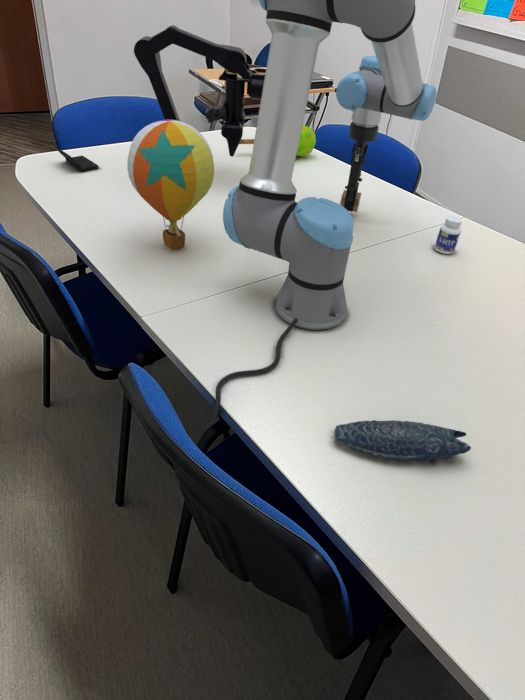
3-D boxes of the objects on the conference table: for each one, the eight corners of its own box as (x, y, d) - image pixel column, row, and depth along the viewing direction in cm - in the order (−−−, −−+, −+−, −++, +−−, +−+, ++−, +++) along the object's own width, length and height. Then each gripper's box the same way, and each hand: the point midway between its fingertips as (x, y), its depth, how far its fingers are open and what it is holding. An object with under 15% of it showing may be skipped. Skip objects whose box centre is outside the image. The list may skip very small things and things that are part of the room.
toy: (119, 241, 130) (106, 114, 112) (184, 223, 141) (182, 104, 122) (161, 274, 119) (154, 140, 101) (229, 252, 130) (233, 127, 111)
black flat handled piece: (103, 161, 168) (81, 139, 159) (91, 179, 166) (69, 158, 158) (82, 157, 174) (60, 135, 166) (70, 174, 173) (48, 153, 164)
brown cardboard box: (341, 203, 154) (344, 189, 152) (358, 206, 153) (361, 192, 151) (339, 209, 151) (341, 195, 148) (356, 212, 150) (359, 198, 147)
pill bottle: (433, 251, 139) (442, 220, 133) (435, 243, 143) (444, 213, 137) (453, 256, 138) (464, 225, 132) (454, 247, 142) (465, 217, 136)
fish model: (468, 474, 80) (479, 453, 77) (333, 457, 81) (338, 435, 78) (460, 442, 85) (469, 421, 82) (333, 426, 86) (337, 404, 83)
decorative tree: (231, 119, 188) (311, 119, 193) (231, 149, 194) (308, 148, 199) (238, 134, 174) (324, 133, 179) (238, 165, 181) (321, 163, 186)
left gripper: (210, 87, 160) (209, 139, 170) (204, 103, 145) (203, 159, 155) (246, 90, 160) (243, 142, 170) (243, 106, 146) (240, 162, 155)
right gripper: (355, 113, 145) (340, 193, 159) (346, 130, 131) (331, 216, 146) (381, 117, 143) (365, 197, 158) (375, 134, 130) (358, 221, 144)
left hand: (232, 151), depth 163 cm, fingers open, 9 cm apart
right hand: (349, 206), depth 152 cm, fingers closed on brown cardboard box, 5 cm apart
